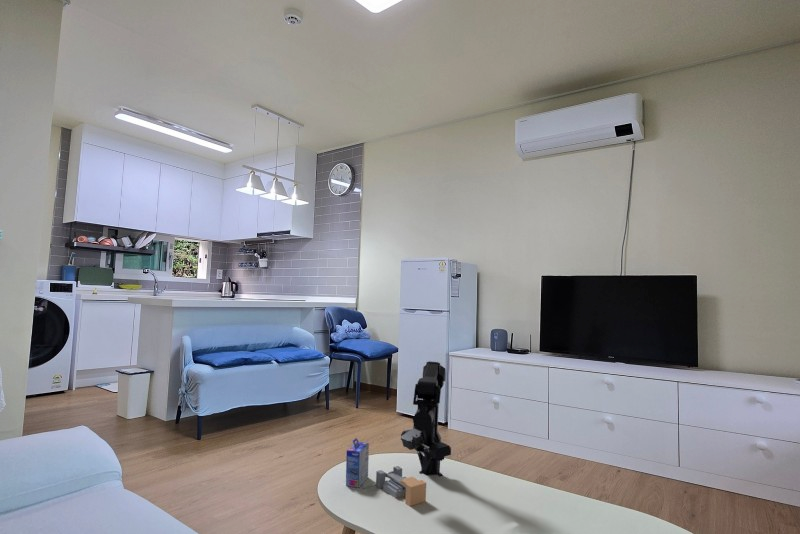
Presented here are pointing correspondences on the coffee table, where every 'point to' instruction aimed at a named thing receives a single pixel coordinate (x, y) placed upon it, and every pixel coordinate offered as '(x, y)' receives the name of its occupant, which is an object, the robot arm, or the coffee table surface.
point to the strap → (394, 477)
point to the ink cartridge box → (357, 464)
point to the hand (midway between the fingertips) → (424, 469)
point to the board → (389, 483)
